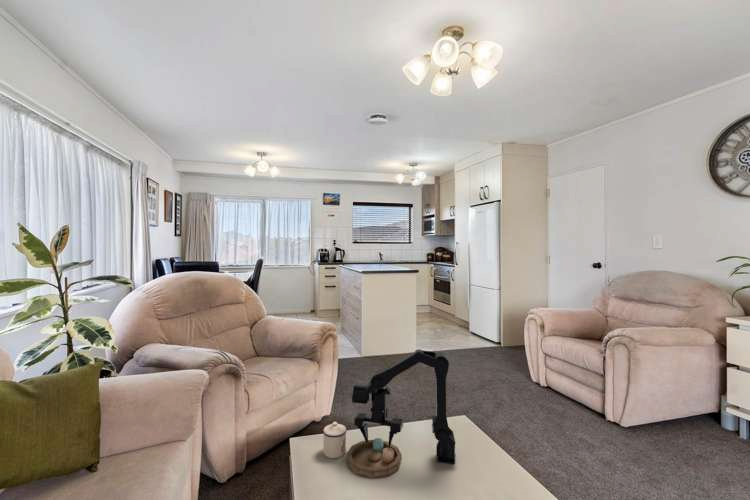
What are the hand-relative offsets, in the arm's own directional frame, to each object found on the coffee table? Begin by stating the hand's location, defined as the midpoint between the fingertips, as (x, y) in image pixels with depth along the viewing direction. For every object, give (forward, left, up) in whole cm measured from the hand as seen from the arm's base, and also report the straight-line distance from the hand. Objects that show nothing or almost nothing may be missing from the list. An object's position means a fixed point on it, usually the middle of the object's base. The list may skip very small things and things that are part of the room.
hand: (378, 444), depth 138 cm
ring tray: (0, +6, -4) cm, 7 cm away
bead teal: (0, 0, -3) cm, 3 cm away
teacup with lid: (+17, +4, -4) cm, 18 cm away
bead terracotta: (-5, +6, -3) cm, 8 cm away
